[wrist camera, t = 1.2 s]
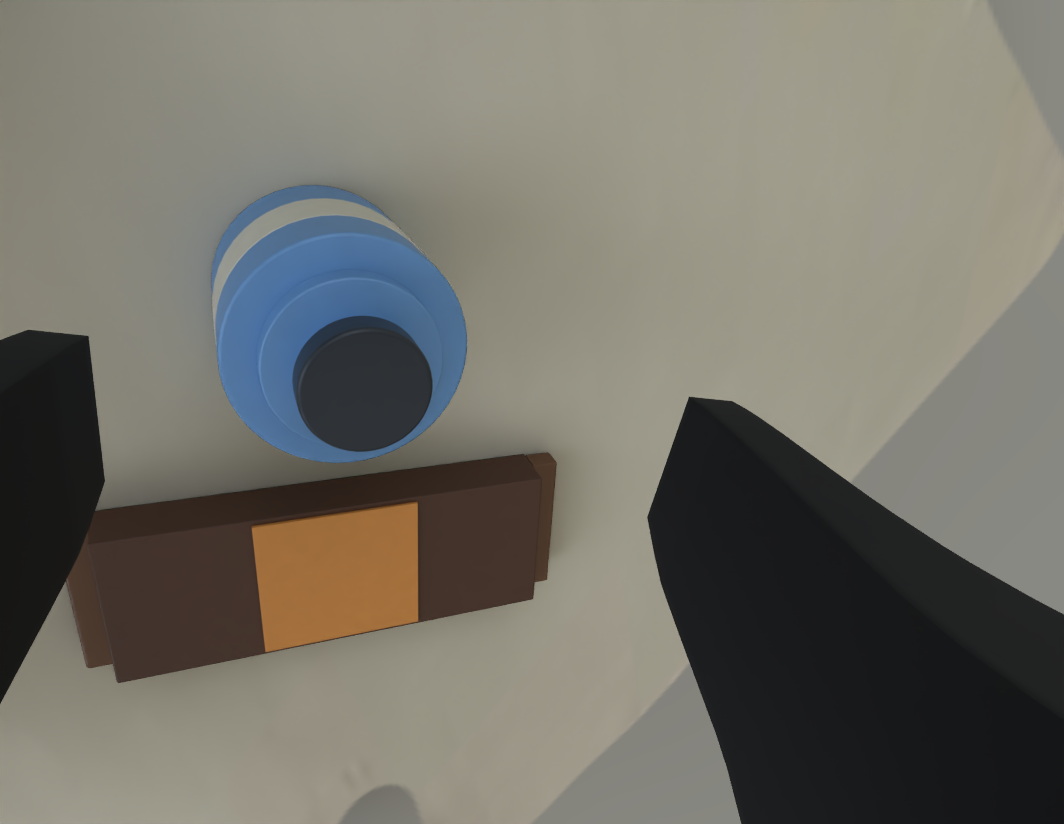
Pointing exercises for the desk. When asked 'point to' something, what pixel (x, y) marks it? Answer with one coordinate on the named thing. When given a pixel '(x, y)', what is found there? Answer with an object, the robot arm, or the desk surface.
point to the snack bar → (308, 562)
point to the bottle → (332, 326)
